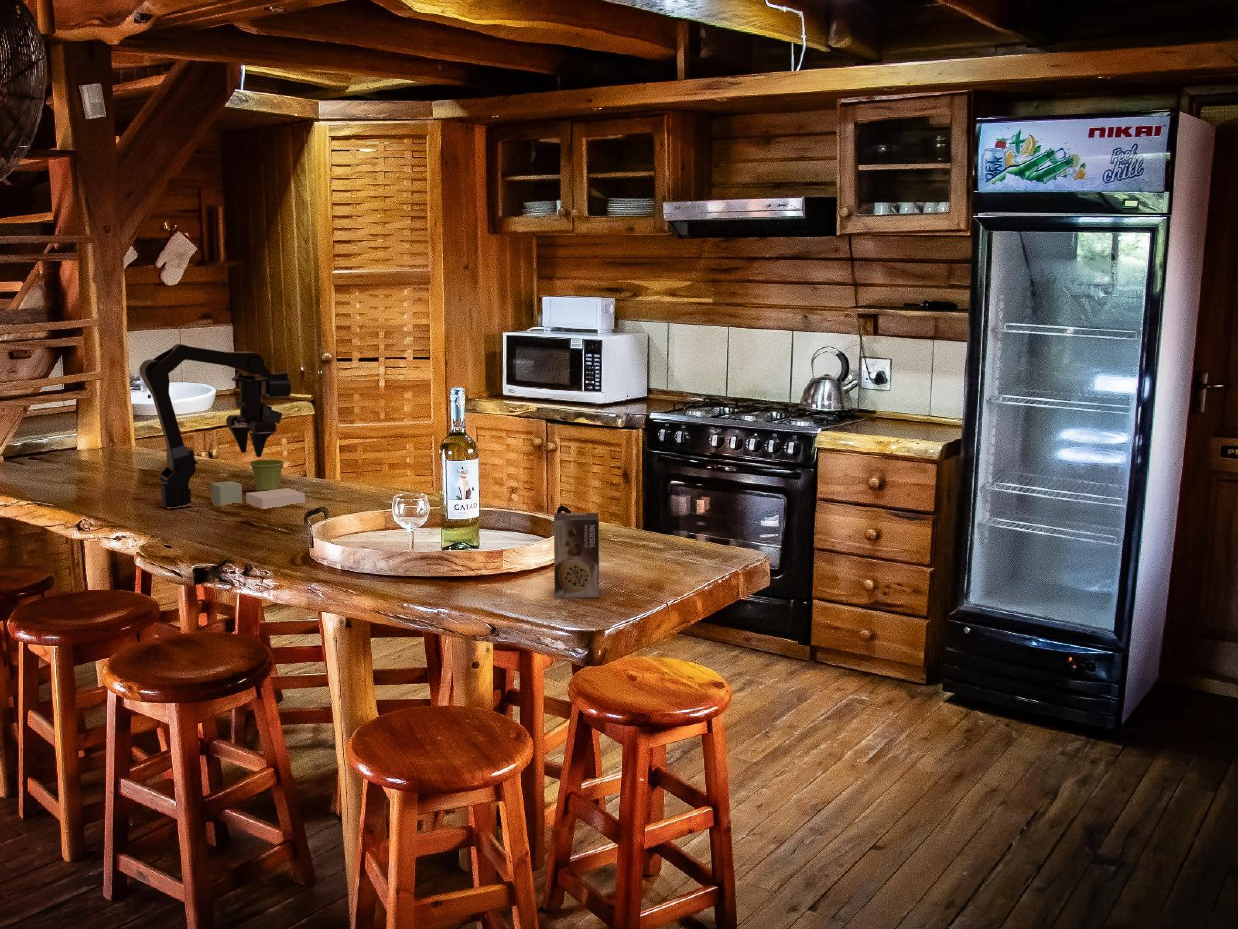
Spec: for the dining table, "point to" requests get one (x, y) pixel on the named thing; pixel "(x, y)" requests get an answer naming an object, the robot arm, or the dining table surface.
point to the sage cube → (226, 492)
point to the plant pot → (267, 474)
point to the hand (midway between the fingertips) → (251, 454)
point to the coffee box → (576, 555)
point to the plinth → (275, 498)
